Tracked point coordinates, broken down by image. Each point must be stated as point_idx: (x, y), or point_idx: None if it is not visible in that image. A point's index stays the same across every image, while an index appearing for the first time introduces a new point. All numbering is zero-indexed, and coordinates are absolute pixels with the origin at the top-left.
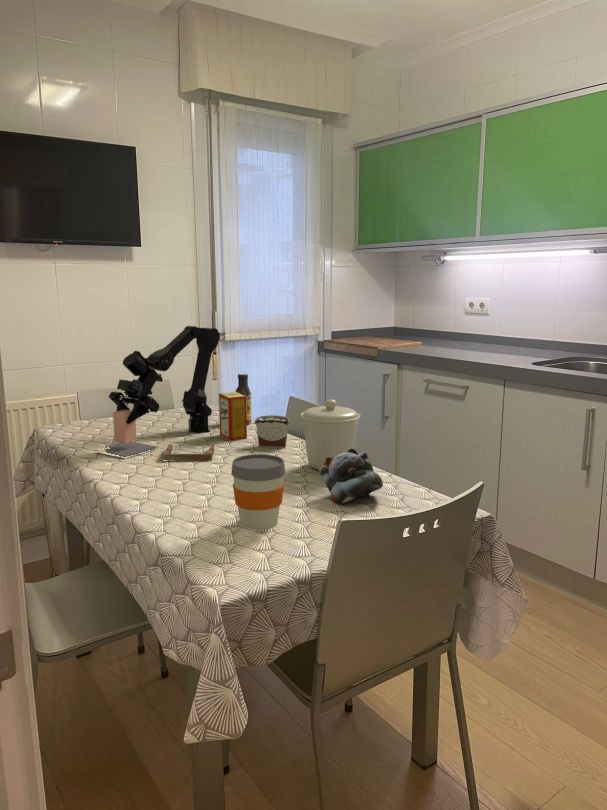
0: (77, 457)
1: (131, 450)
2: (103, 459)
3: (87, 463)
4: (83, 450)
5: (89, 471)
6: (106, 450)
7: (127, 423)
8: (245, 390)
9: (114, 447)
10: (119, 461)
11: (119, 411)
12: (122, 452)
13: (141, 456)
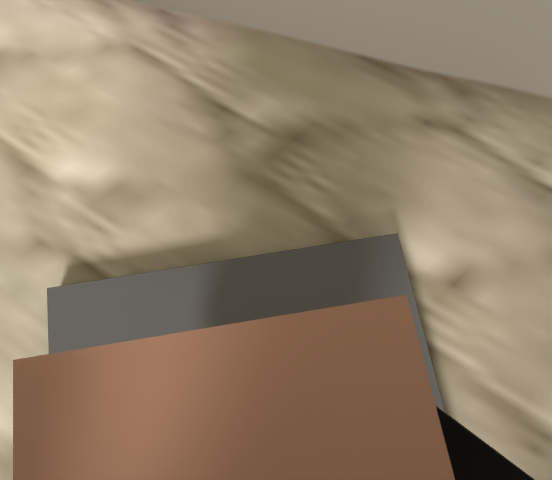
0: (366, 109)
1: None
2: (187, 190)
3: (189, 81)
4: (513, 223)
5: (35, 11)
6: (311, 284)
7: None
8: None
9: None
10: (48, 235)
11: (359, 467)
12: None
13: (5, 437)
